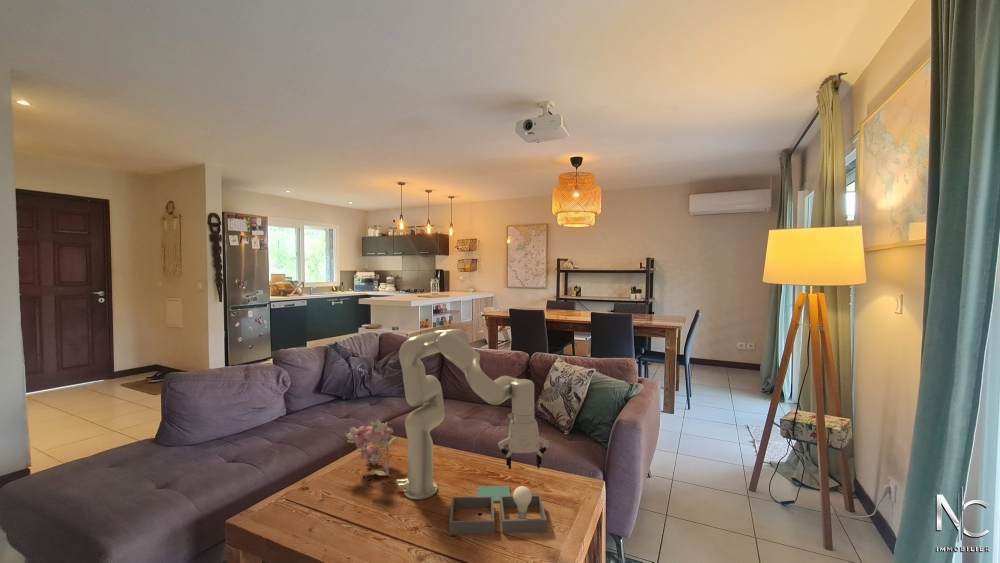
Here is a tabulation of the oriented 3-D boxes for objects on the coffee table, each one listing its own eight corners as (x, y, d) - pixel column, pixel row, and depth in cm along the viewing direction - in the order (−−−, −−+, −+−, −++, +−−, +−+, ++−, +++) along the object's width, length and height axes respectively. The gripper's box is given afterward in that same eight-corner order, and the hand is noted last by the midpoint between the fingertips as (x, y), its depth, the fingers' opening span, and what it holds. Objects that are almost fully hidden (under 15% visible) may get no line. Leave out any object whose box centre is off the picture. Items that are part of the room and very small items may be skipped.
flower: (418, 456, 183) (396, 403, 185) (401, 476, 160) (376, 417, 163) (378, 474, 184) (356, 421, 186) (356, 497, 162) (331, 437, 164)
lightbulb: (511, 513, 144) (512, 482, 143) (529, 512, 144) (530, 482, 144) (514, 525, 137) (514, 492, 137) (532, 524, 138) (533, 492, 137)
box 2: (502, 533, 133) (502, 521, 133) (500, 506, 147) (500, 495, 147) (546, 531, 134) (546, 519, 134) (540, 505, 148) (540, 495, 148)
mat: (478, 502, 150) (478, 501, 150) (478, 487, 160) (478, 486, 160) (511, 502, 150) (511, 500, 150) (509, 487, 160) (509, 485, 160)
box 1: (449, 534, 132) (449, 522, 132) (452, 508, 147) (452, 497, 146) (494, 533, 133) (494, 521, 133) (492, 507, 147) (492, 496, 147)
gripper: (498, 422, 135) (498, 473, 136) (550, 420, 136) (551, 471, 136) (497, 413, 142) (497, 462, 143) (546, 412, 143) (547, 460, 144)
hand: (523, 466), depth 140 cm, fingers open, 9 cm apart
